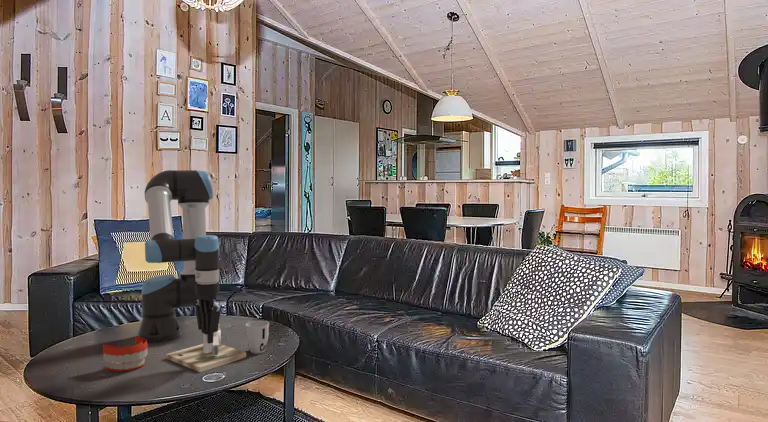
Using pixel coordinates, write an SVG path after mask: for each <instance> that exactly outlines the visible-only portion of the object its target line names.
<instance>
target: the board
mask: <svg viewBox="0 0 768 422" xmlns="http://www.w3.org/2000/svg"><path fill="white" fill-rule="evenodd" d="M165 356H166V357H165V359H167V360H169V361H172V362H174V363H176V364H178V365H181V366H184V367H186V368H189V369H190V370H191V369H192V370H194V371H196V372H199V373H203V372H206V371H208V370H209V371H210V370H211V369H215V368H219V367H221V366H224V365H227V364H230V363H234V362H237V361H239V360H243V359H245V358H247V352H245V351H241V350H239V349H236V348H234V347H231V346H227V345H224V344H223V343H222V342H221V345H219V353H218V355H214V354H212V352H210V353H203V343H201V344H198V345H193V346H190V347H187V348H183V349H179V350H176V351H172V352H169V353H166V354H165Z"/></svg>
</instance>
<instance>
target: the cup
mask: <svg viewBox="0 0 768 422" xmlns="http://www.w3.org/2000/svg"><path fill="white" fill-rule="evenodd" d="M245 330H246V331H245V332H246V333H245V334H246V340H247V345H248V348H249V351H250V353H252V354H257V355H258V354H261V353H264V352H265V351H266V349H267V347H268V346H267V345H268V340H269V333H270V332H269V331H270V321H266V320H253V321H249V322H246V323H245Z"/></svg>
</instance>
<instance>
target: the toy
mask: <svg viewBox="0 0 768 422" xmlns="http://www.w3.org/2000/svg"><path fill="white" fill-rule="evenodd" d="M134 339H135V344H134V345H128V346H115V345H111V344H102V354H103V358H102V359H103V361H104V363H105V366H104V370H106V371H110V372H117V373H119V372H120V373H121V372H130V371H134V370H137V369H139V368H142V367H144V365H145V363H146V357H147V356H148V347H149V345H148V342H147V340H146V339H145V338H142V337H140V336H138V335H135V336H134Z"/></svg>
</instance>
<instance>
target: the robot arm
mask: <svg viewBox="0 0 768 422" xmlns="http://www.w3.org/2000/svg"><path fill="white" fill-rule="evenodd" d="M213 198H214V192H213V185H212V179H211V176H210V174H209V173H208V172H207V171H206V170H196V169H195V170H193V169H192V170H191V169H190V170H189V169H188V170H187V169H186V170H185V169H184V170H179V169H178V170H176V169H175V170H172V169H170V170H169V169H168V170H164V171H160V172H158V173H157V174H155V175H154V176H153V177H152V178H150V179H149V181H148V183H147V184H146V186H145V189H144V200H145V202H146V203H147V206H148V222H149V236H150V237H149V239H150V240H147V241H145V243H144V255H145V256H144V258H145V261H146V262H147V263H148V264H161V263H163V264H164V263H173V262H174V263H175V262H183V269H182V270H181V272H180V273H179V278H176V276H175V275H173V274H163V275H157V276H153V277H150V278H147V279H145V280H144V281H143V282H142V285H141V292H140V293H141V296H142V299H141V300H142V302H141V303H142V306H141V307H142V308H141V310H142V312H141V313H142V318H141V319H142V320H141V323H140V325H139V329H138V332H137V336H140V337H142V338H145V339H146V340H147V343H160V342H161V343H162V342H167V341H171V340H174V339H177V338H178V337H180V336H181V328H180V325H179V322H178V319H177V317H176V309H184V308H194V307H195V314H196V323H197V327H198V330H199V331H201V333H202V344H203V353H210V352H213V333H214V332H217V331H218V325H219V324H220V316H221V312H222V309H223V305H222V304H219V303H218V299H217V298H218V297H217V295H218V294H219V293H220V283H219V281H220V267H219V266H220V265H219V264H220V262H219V258H220V257H219V255H220V242H219V237H218V236H217V235H213V234H207V231H206V230H207V229H206V226H207V224H206V208H207V207H208V206H209V204H210V201H211V200H213ZM174 200H175V201H177V205H178V206H179V207H180V208H181V209H182V237H183V239H180V238H179V239H175V236H174V234H175V233H174V225H173V216H172V210H171V209H172V208H171V201H174Z"/></svg>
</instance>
